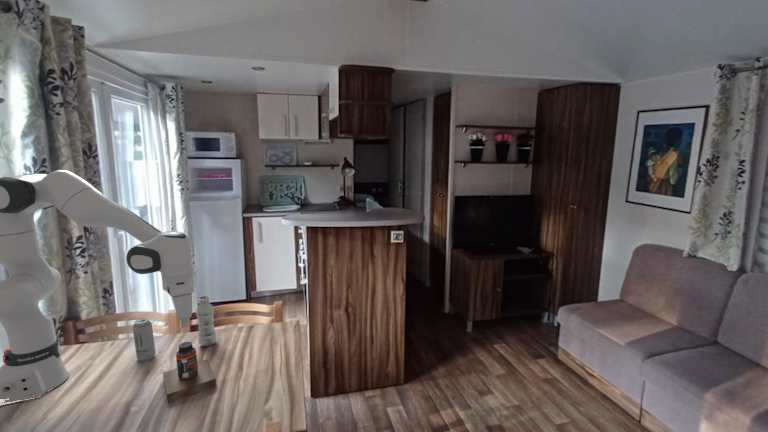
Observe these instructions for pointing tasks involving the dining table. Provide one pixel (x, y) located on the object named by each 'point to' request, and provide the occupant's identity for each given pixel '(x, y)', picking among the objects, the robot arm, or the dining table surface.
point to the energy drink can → (144, 339)
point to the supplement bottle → (186, 361)
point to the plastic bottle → (206, 322)
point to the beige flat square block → (189, 382)
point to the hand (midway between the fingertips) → (182, 321)
